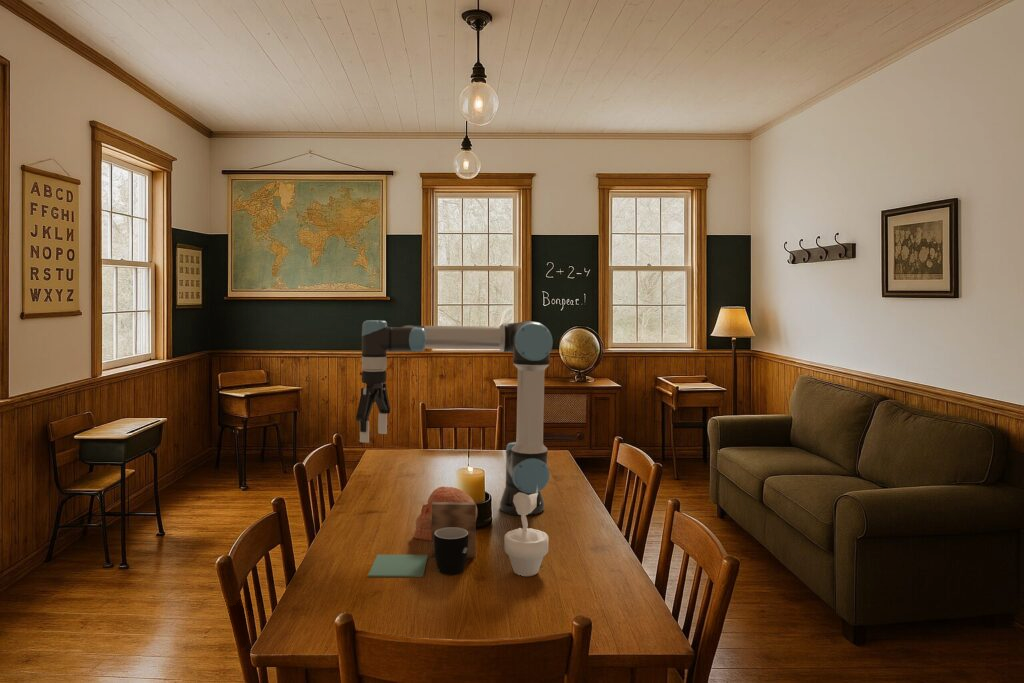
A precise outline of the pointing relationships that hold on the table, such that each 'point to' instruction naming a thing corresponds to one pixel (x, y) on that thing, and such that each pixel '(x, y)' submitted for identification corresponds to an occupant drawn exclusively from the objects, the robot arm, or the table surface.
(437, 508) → the walnut board
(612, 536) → the table surface
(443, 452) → the table surface
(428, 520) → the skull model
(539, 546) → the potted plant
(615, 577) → the table surface
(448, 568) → the mug
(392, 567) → the felt pad
